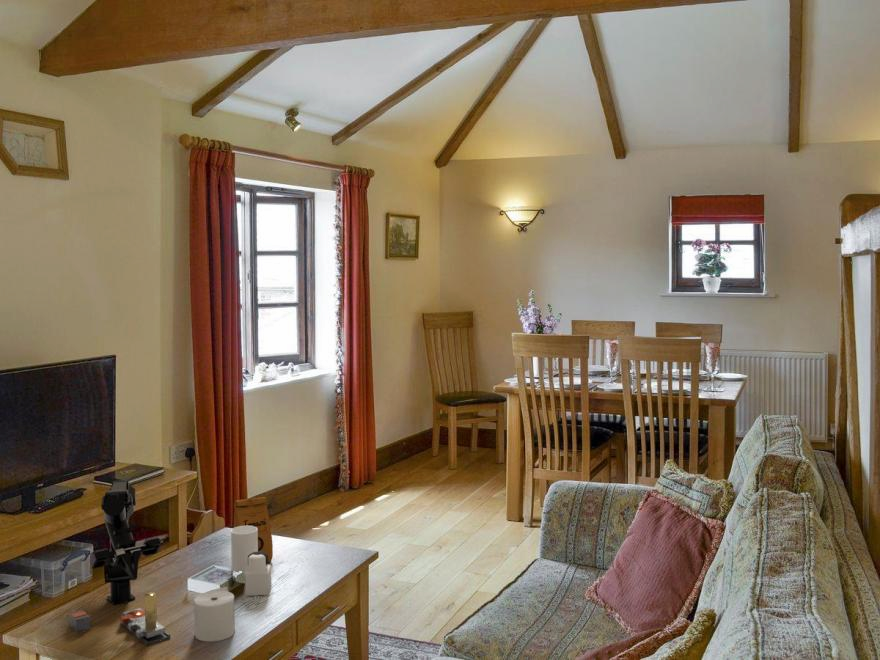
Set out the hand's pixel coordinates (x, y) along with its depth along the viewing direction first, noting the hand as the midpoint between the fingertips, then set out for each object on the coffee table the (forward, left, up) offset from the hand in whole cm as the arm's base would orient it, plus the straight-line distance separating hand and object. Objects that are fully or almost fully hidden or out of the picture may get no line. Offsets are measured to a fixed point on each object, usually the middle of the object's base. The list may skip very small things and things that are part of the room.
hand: (135, 579), depth 235 cm
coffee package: (-22, +48, -13) cm, 55 cm away
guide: (+5, 0, -13) cm, 14 cm away
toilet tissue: (+18, +14, -13) cm, 27 cm away
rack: (+4, 0, -12) cm, 13 cm away
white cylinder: (-11, +39, -13) cm, 43 cm away
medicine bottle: (+1, +37, -13) cm, 40 cm away
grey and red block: (-9, -13, -13) cm, 20 cm away
